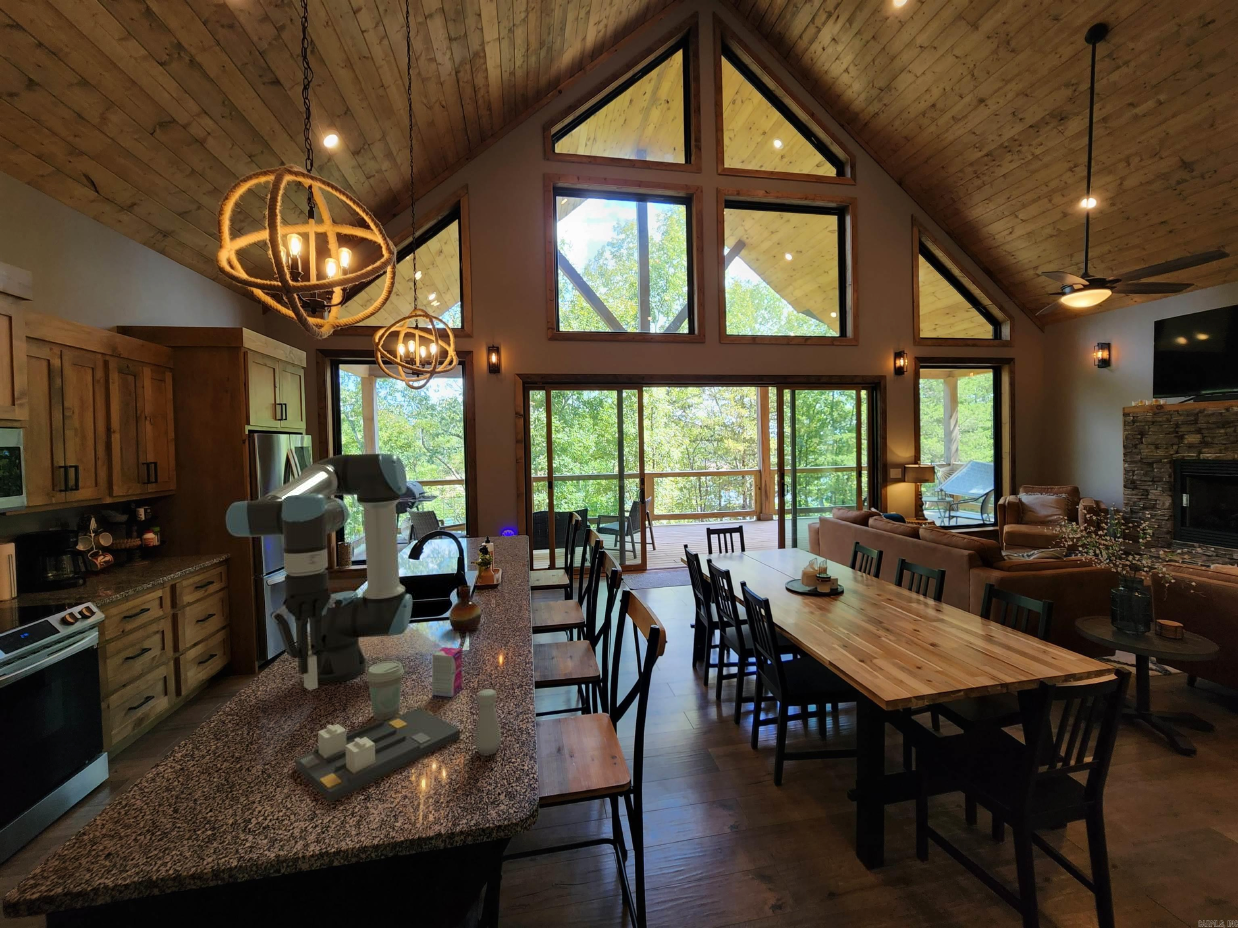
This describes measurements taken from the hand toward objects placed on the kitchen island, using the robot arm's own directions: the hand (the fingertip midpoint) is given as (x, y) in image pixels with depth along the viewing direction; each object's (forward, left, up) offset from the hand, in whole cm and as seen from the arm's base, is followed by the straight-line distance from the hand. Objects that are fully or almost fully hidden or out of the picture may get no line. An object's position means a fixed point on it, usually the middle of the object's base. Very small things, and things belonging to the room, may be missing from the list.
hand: (310, 686), depth 108 cm
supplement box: (-10, +37, -18) cm, 43 cm away
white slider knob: (-2, +4, -16) cm, 17 cm away
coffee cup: (-12, +21, -18) cm, 31 cm away
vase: (-50, +70, -18) cm, 89 cm away
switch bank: (+3, +12, -18) cm, 22 cm away
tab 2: (+8, +6, -16) cm, 19 cm away
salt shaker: (+21, +27, -18) cm, 39 cm away
